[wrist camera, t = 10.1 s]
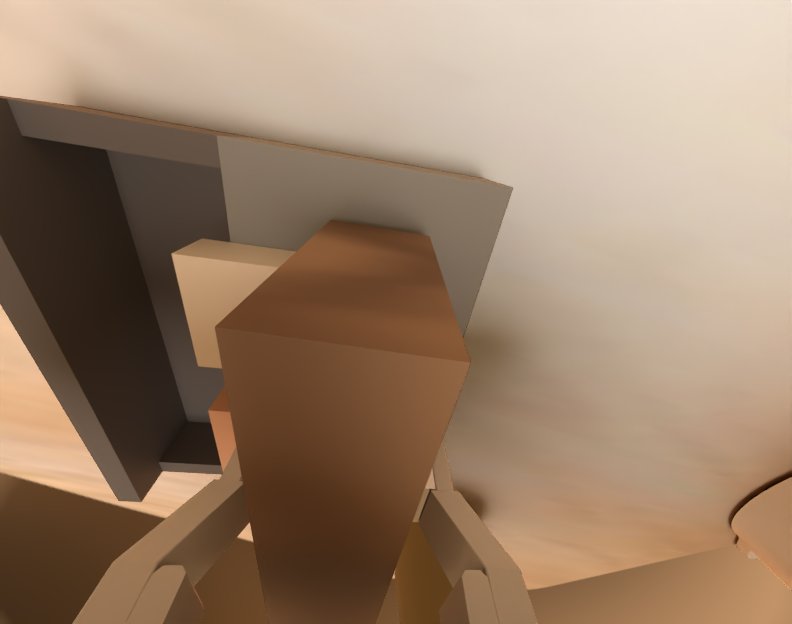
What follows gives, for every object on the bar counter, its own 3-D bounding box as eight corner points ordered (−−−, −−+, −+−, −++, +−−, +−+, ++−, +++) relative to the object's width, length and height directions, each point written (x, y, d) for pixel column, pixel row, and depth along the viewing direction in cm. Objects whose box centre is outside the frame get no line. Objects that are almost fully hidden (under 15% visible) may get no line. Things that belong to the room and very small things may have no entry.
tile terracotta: (323, 390, 12) (316, 418, 11) (320, 447, 14) (314, 477, 13) (226, 382, 12) (208, 410, 11) (237, 442, 14) (223, 472, 13)
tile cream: (329, 256, 9) (320, 273, 8) (325, 351, 11) (317, 377, 10) (201, 238, 9) (171, 253, 8) (220, 340, 11) (197, 366, 10)
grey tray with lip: (483, 178, 11) (536, 194, 7) (410, 438, 19) (416, 513, 15) (74, 106, 10) (-136, 77, 6) (177, 422, 17) (118, 500, 14)
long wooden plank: (429, 236, 9) (471, 362, 3) (376, 481, 15) (362, 658, 10) (330, 219, 8) (215, 326, 3) (319, 474, 15) (273, 651, 10)
